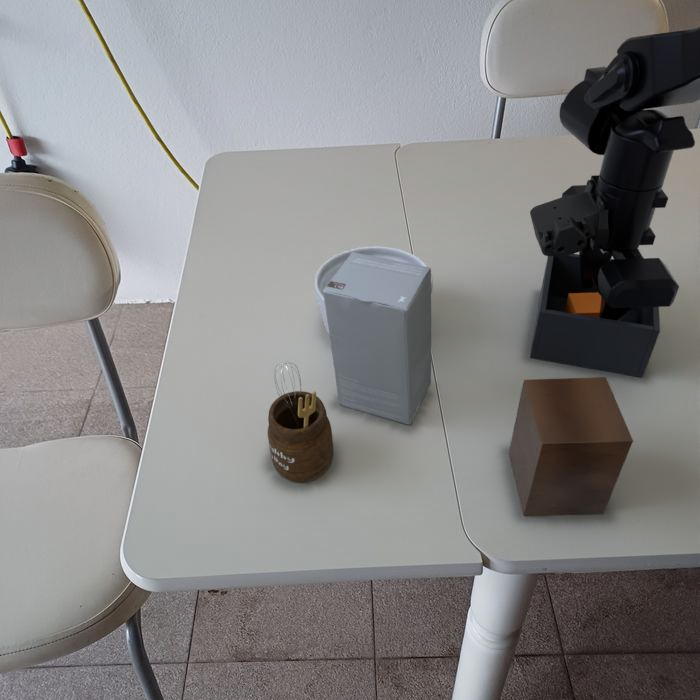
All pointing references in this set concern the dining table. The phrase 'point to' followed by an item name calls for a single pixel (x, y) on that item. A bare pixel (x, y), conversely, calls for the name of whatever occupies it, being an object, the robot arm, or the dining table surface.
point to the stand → (567, 446)
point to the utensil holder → (299, 435)
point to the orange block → (584, 304)
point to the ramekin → (337, 261)
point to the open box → (589, 327)
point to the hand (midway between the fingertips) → (594, 306)
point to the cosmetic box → (380, 335)
